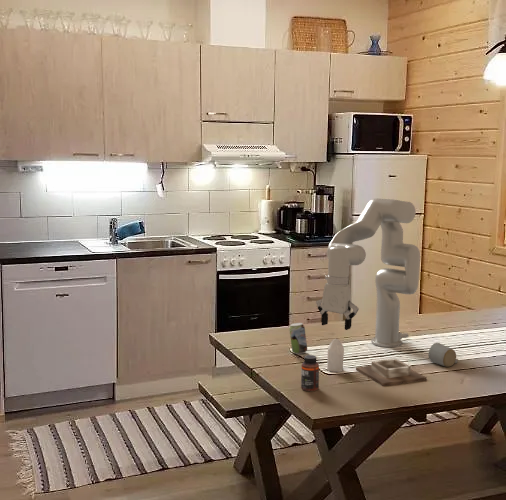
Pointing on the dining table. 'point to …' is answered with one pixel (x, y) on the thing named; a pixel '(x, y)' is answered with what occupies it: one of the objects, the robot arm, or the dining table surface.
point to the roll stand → (390, 372)
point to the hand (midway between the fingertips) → (335, 326)
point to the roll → (335, 356)
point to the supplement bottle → (310, 374)
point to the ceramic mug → (442, 355)
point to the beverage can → (298, 338)
